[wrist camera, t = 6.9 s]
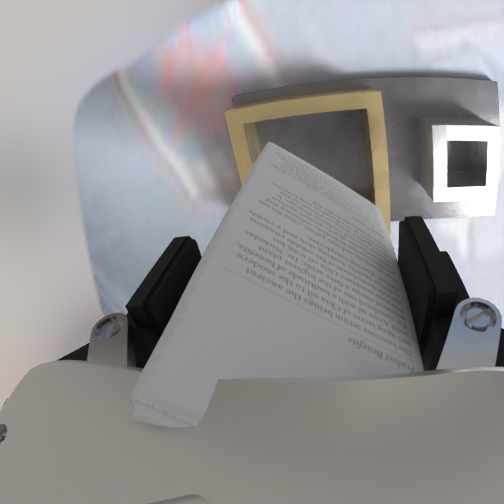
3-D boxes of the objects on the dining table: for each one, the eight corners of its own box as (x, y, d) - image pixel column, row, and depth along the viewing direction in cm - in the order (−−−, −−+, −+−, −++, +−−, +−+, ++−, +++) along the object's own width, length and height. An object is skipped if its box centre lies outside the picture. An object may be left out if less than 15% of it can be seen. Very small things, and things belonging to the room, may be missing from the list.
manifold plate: (492, 80, 16) (518, 86, 13) (490, 210, 21) (510, 234, 18) (234, 96, 21) (218, 102, 18) (264, 227, 27) (254, 252, 24)
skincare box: (228, 213, 15) (102, 453, 6) (269, 137, 13) (118, 393, 3) (333, 271, 16) (319, 520, 6) (384, 208, 14) (447, 487, 4)
